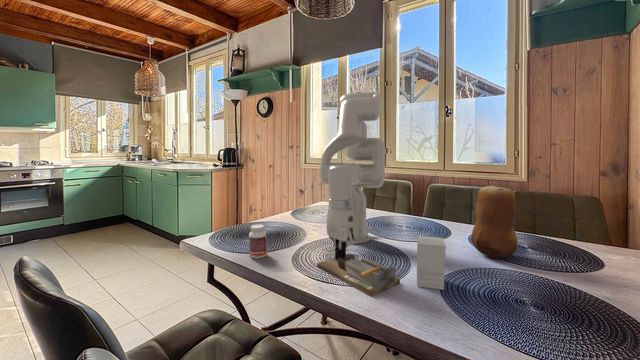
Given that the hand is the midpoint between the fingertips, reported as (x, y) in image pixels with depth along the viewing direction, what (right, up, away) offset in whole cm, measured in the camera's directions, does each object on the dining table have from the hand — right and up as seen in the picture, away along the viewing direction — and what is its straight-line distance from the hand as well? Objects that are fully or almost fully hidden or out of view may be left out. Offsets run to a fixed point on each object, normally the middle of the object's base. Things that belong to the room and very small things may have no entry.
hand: (340, 259), depth 97 cm
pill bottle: (-29, -2, +11) cm, 31 cm away
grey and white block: (+5, -2, -6) cm, 8 cm away
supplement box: (+25, -4, -11) cm, 28 cm away
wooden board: (+4, -3, -5) cm, 8 cm away
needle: (+8, -3, -14) cm, 16 cm away
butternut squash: (+54, -1, +8) cm, 55 cm away
